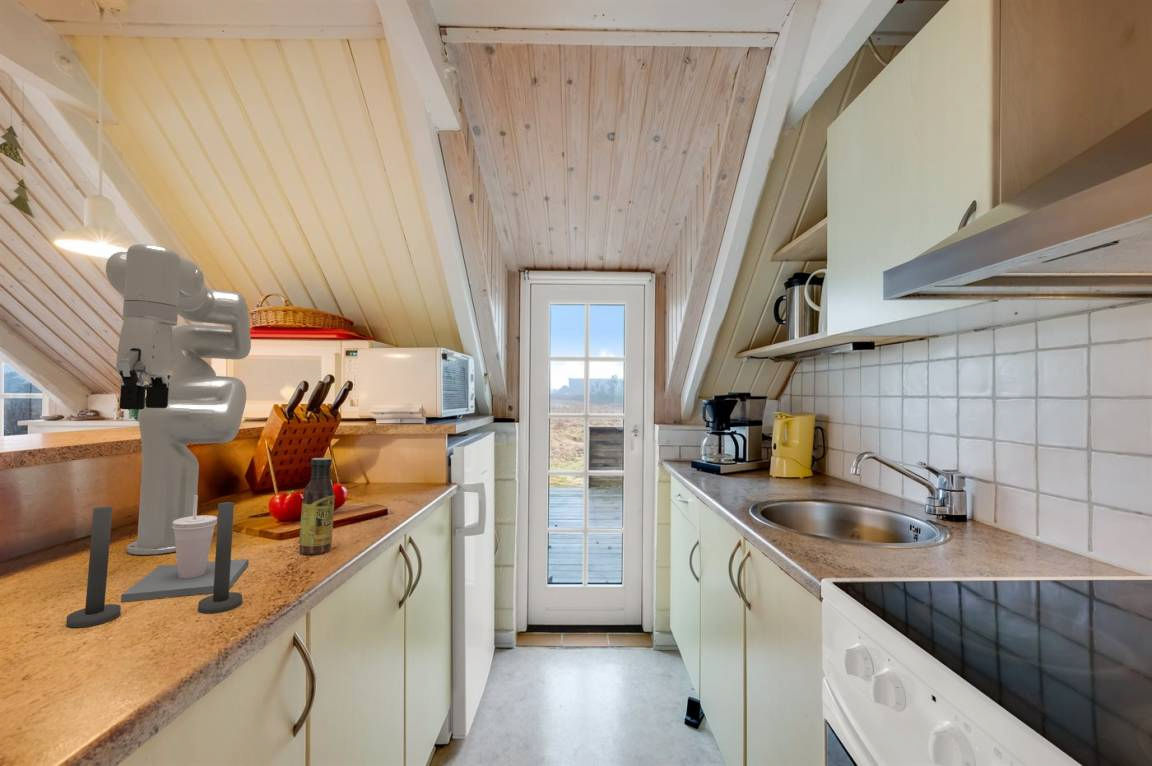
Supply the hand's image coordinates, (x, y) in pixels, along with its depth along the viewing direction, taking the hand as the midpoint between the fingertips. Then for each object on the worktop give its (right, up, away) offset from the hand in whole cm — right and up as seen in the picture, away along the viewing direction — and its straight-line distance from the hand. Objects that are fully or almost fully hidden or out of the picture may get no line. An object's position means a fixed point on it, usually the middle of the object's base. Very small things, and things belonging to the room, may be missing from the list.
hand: (144, 408), depth 88 cm
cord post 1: (+8, -30, -17) cm, 35 cm away
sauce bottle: (+22, -32, +16) cm, 42 cm away
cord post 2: (+22, -31, -11) cm, 39 cm away
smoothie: (+10, -30, -2) cm, 31 cm away
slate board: (+10, -31, -2) cm, 32 cm away
